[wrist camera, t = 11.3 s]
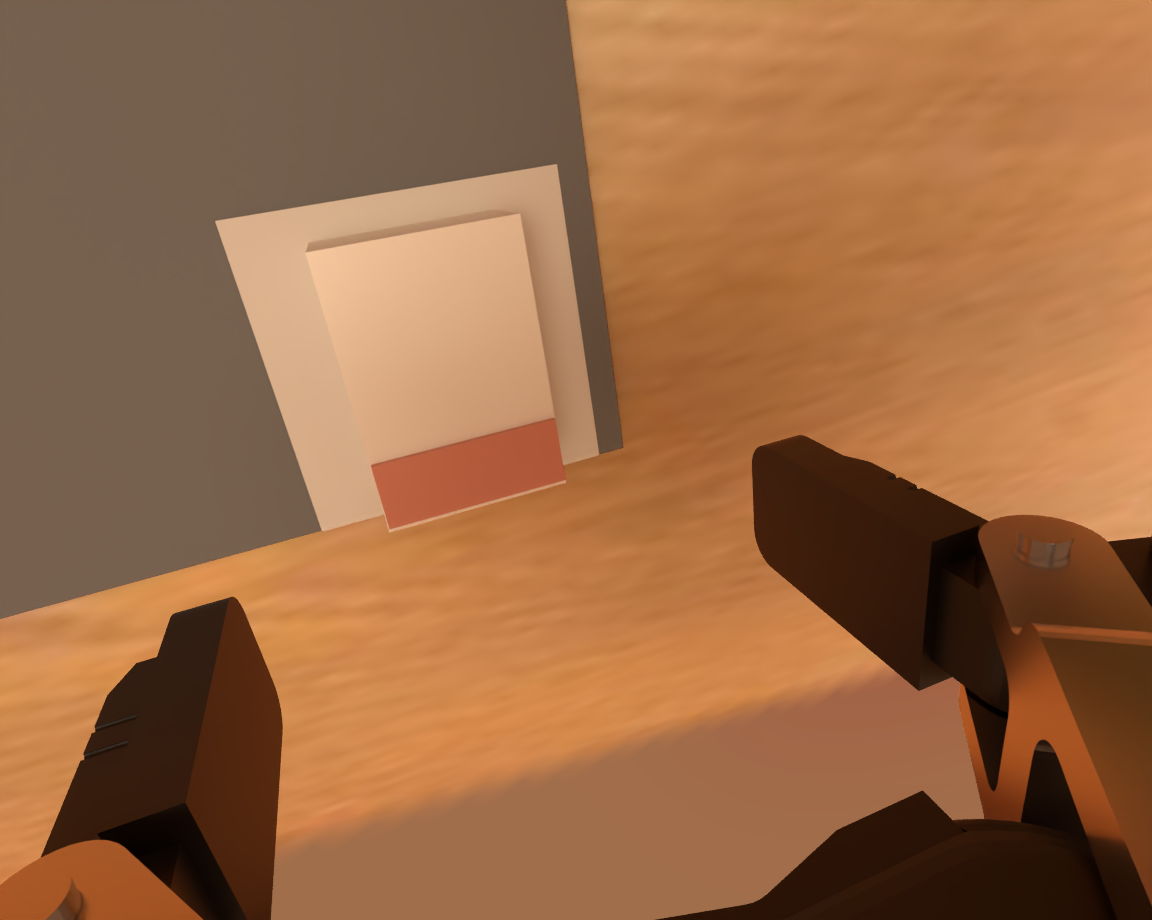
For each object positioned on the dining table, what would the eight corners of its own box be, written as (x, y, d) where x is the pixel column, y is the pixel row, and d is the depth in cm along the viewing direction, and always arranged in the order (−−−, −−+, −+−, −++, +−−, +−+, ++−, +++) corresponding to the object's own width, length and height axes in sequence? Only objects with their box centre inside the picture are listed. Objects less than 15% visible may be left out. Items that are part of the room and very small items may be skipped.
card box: (308, 242, 20) (304, 253, 17) (492, 209, 21) (521, 213, 18) (381, 486, 23) (389, 535, 20) (536, 445, 25) (568, 484, 21)
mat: (-45, 622, 21) (-56, 635, 21) (-507, -100, 14) (-545, -114, 13) (617, 442, 26) (624, 448, 26) (538, -155, 19) (545, -166, 18)
